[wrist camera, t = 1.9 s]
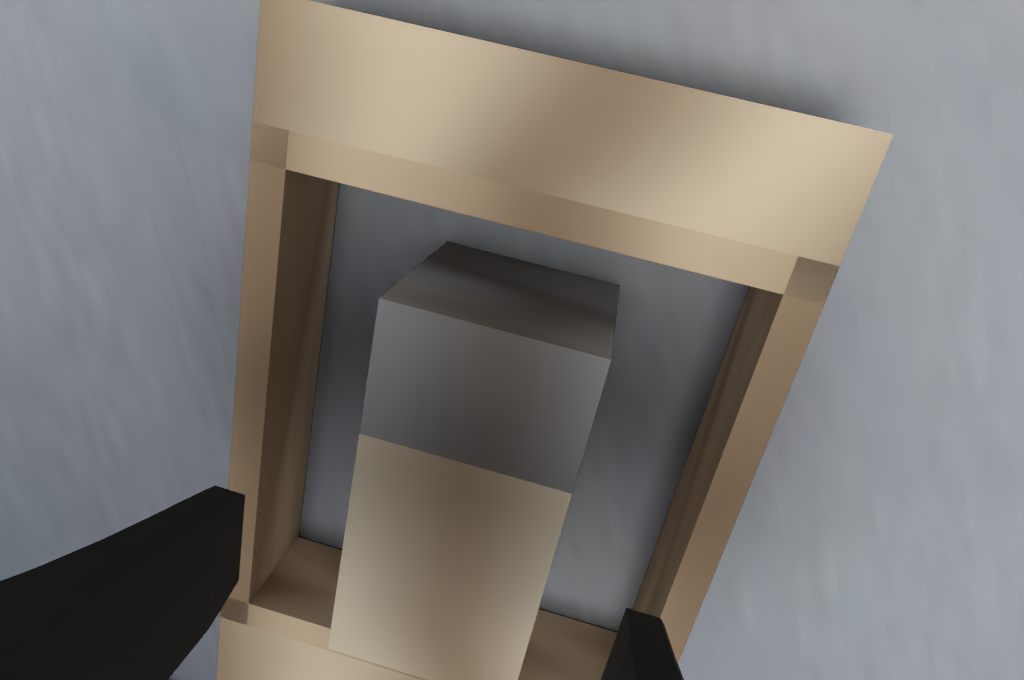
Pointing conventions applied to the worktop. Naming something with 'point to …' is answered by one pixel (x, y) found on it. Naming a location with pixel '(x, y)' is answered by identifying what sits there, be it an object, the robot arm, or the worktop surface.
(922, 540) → the worktop surface
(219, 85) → the worktop surface
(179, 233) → the worktop surface
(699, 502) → the tan wooden flat frame
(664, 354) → the worktop surface
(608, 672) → the robot arm
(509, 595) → the capped bar
